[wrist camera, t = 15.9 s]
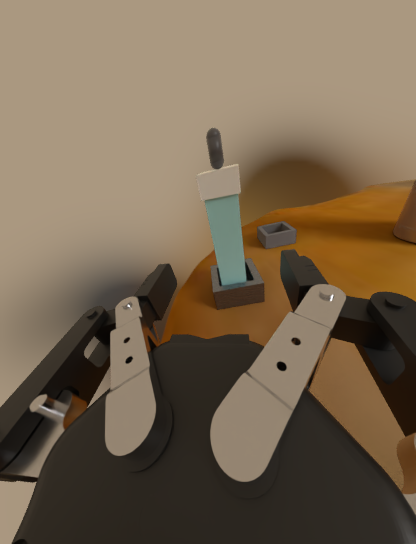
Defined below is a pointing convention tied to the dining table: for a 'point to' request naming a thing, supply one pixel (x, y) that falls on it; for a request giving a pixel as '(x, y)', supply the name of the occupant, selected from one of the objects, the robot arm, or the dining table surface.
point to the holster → (276, 234)
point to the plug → (223, 211)
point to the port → (238, 288)
